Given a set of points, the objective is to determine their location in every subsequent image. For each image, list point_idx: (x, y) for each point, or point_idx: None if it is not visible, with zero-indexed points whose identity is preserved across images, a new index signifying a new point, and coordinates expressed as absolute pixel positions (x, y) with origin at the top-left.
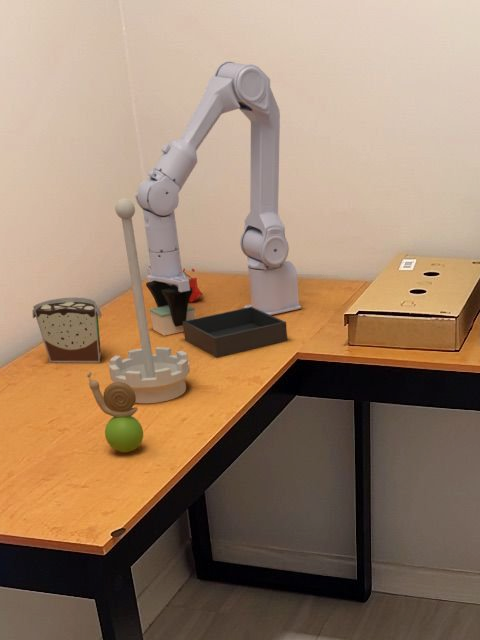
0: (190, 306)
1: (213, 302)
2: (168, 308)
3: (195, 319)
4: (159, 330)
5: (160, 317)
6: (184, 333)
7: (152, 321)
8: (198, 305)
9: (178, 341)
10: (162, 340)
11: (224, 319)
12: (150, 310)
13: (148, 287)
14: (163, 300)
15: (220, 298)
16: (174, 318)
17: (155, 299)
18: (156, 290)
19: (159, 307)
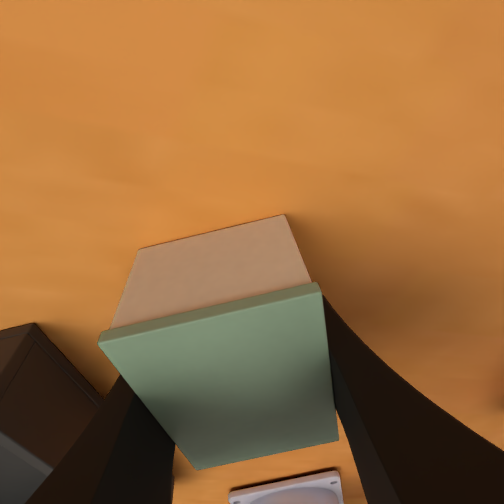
0: (233, 461)
1: (465, 423)
2: (254, 389)
3: (17, 455)
4: (188, 246)
5: (127, 322)
6: (7, 352)
7: (281, 243)
8: (477, 394)
9: (14, 296)
10: (47, 229)
11: None
12: (295, 292)
13: (498, 494)
14: (346, 412)
15: (483, 436)
16: (120, 375)
17: (375, 388)
18: (387, 497)
19: (312, 352)
